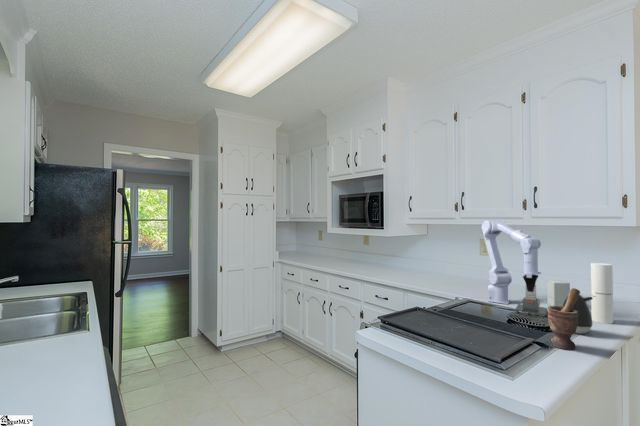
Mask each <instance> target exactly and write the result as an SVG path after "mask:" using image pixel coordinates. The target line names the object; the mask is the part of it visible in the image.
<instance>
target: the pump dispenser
mask: <svg viewBox="0 0 640 426" xmlns="http://www.w3.org/2000/svg"><path fill="white" fill-rule="evenodd" d="M567 299H568V296H567V298H566V299H565V301H564V303H563V306H562V307H565V305H566V302H567ZM592 299H593V298H592V297H591V296H587V297H583V296H582V295H581V294H580V295H579V297H578V299H577V300H576V302H575V303H574V305H573V307H572V309H574V310H576V311H577V312H578V325H577V329H576V332H575V333H574V334H577V333H578V335H582V334H583V335H584V334H587V333H589V332H590V330H591V329H592V326H593V321H592V312H591V309H590V307H589V305H588V304H587V302H589V301H591V300H592Z"/></svg>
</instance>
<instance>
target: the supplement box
mask: <svg viewBox="0 0 640 426" xmlns="http://www.w3.org/2000/svg"><path fill="white" fill-rule="evenodd" d="M546 281H547V282H546V287H547V288H546V290H547V292H546V293H547V294H546V295H547V299H546V300H547V306H561V307H562V306H563V303H564V301H565V299H566V298H567V296H568V295H569V292H570V290H571V289H570V287H571V286H570V282H568V281H564V280H549V279H548V280H546Z"/></svg>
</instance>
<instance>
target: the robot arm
mask: <svg viewBox="0 0 640 426" xmlns="http://www.w3.org/2000/svg"><path fill="white" fill-rule="evenodd" d="M481 231H482V233H483V240H484V244H485V247H486V250H487V254H488V258H489V262H490V265H491V269H490V270H488V275H489V277H488V280H489V282H490V284H488V286H487V302H489V303H498V304H504V305H509V303H510V302H511V300H509V286H510V284H511V283H512V279H513V278H512V275H511V274H510V273H509V269H508V268H506V267H504V265H503V261H502V258H501V254H500V250H499V247H498V244H497V240H496V238H497V237H498V236H499V235H500V234H501V233H503V234H506V235H508V236H510V238H511V240H512V241H514V242H516V243H517V244H519V245H520V247H521V249H522V253H523V271H522V272H523V274H524V275H523V276H522V278H523V281H524V282H525V287H526V286H527V290H528V291H529V292H533V290H534V285H536V282H537V280H538V277H539V275H541V274H542V272H541V271H539V267H538V266H539V262H538V261H539V260H538V258H539V257H538V256H539V255H538V254H539V253H538V251H539V250H538V249H540V247H541V240H540V238H538V237H536V236H533V237H531V235H530V234H526V233H525V232H523V230H522V229H516V230H515V229H513V228H512V227H511V226H509V225H507V223H506V222H504V221H503V220H484V221H483V222H482V224H481Z"/></svg>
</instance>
